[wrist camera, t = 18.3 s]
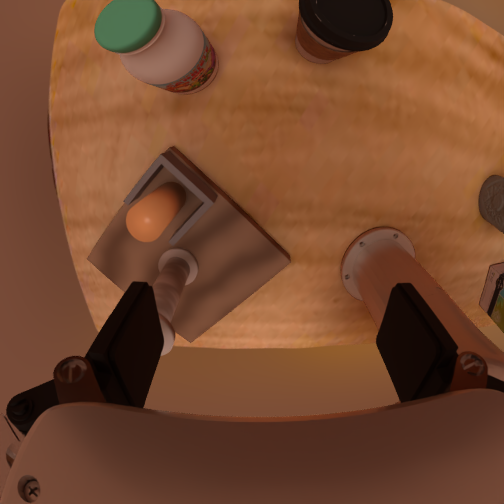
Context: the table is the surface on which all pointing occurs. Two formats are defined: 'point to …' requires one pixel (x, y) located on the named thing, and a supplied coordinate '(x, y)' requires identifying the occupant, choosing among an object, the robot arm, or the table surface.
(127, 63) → the milk bottle
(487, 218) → the grey green embossed cup
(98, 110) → the table surface
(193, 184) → the notch block
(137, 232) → the plug
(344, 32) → the coffee cup
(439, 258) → the table surface
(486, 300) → the tea box
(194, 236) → the board
